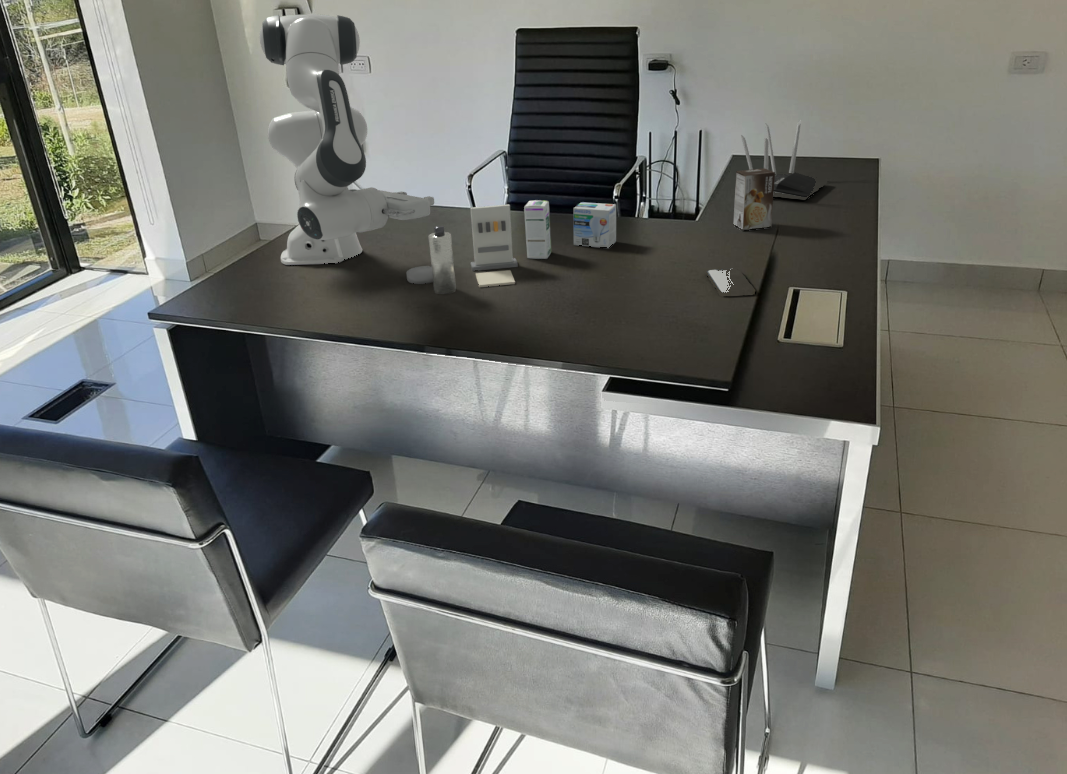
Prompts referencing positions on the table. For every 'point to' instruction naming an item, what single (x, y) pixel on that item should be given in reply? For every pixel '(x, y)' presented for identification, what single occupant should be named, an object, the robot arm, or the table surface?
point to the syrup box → (537, 229)
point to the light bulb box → (595, 224)
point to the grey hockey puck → (420, 275)
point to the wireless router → (789, 182)
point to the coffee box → (754, 198)
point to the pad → (495, 278)
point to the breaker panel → (492, 238)
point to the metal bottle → (442, 261)
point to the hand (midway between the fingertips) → (418, 197)
